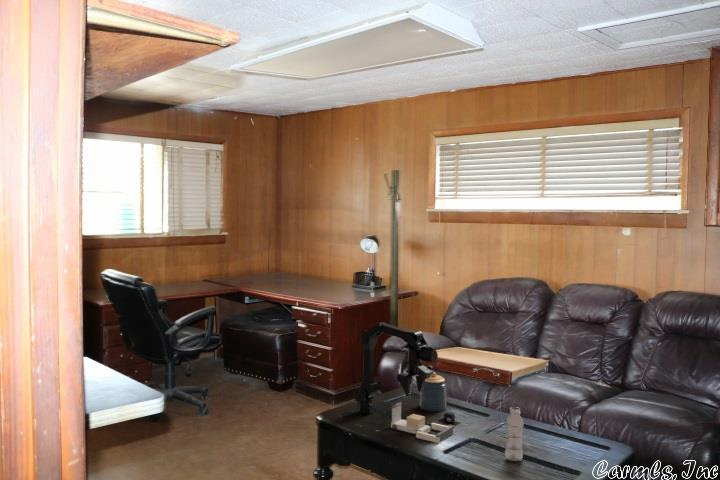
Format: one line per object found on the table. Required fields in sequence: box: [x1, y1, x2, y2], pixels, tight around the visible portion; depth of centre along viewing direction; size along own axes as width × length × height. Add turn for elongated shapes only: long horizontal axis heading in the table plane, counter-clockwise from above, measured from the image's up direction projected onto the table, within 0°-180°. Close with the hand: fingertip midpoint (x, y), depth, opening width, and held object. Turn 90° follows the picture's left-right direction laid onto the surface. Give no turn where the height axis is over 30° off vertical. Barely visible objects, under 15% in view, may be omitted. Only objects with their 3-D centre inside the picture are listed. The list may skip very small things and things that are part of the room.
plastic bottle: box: [504, 406, 525, 462], centre depth 229 cm, size 6×7×20 cm
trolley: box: [390, 401, 432, 435], centre depth 262 cm, size 16×9×10 cm, turn 54°
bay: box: [415, 422, 455, 444], centre depth 255 cm, size 10×14×3 cm
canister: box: [419, 371, 448, 412], centre depth 293 cm, size 13×13×18 cm
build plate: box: [437, 411, 462, 427], centre depth 272 cm, size 12×7×5 cm, turn 51°
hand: (413, 393), depth 267 cm, fingers open, 9 cm apart
